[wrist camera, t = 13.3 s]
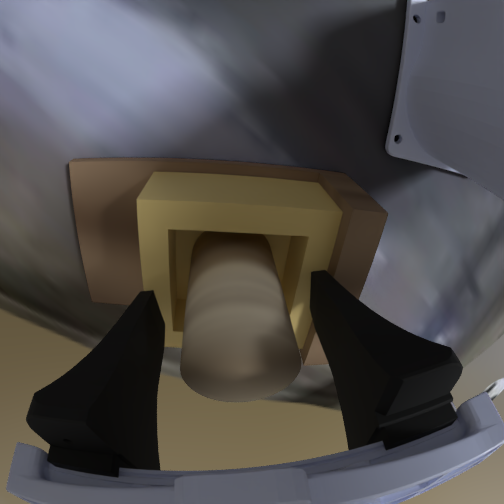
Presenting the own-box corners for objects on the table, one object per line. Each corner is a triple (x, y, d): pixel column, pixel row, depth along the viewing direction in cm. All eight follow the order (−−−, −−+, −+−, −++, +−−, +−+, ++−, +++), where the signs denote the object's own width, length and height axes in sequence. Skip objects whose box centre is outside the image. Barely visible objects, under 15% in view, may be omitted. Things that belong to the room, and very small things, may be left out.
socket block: (154, 171, 14) (136, 199, 11) (318, 182, 15) (342, 212, 12) (159, 302, 18) (151, 345, 15) (290, 306, 19) (302, 348, 16)
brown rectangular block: (73, 158, 14) (24, 195, 9) (344, 173, 16) (388, 213, 11) (94, 296, 18) (71, 353, 14) (310, 305, 20) (331, 363, 16)
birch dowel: (183, 228, 15) (164, 338, 9) (267, 215, 15) (301, 320, 9) (200, 293, 17) (196, 406, 11) (274, 283, 17) (301, 393, 11)
